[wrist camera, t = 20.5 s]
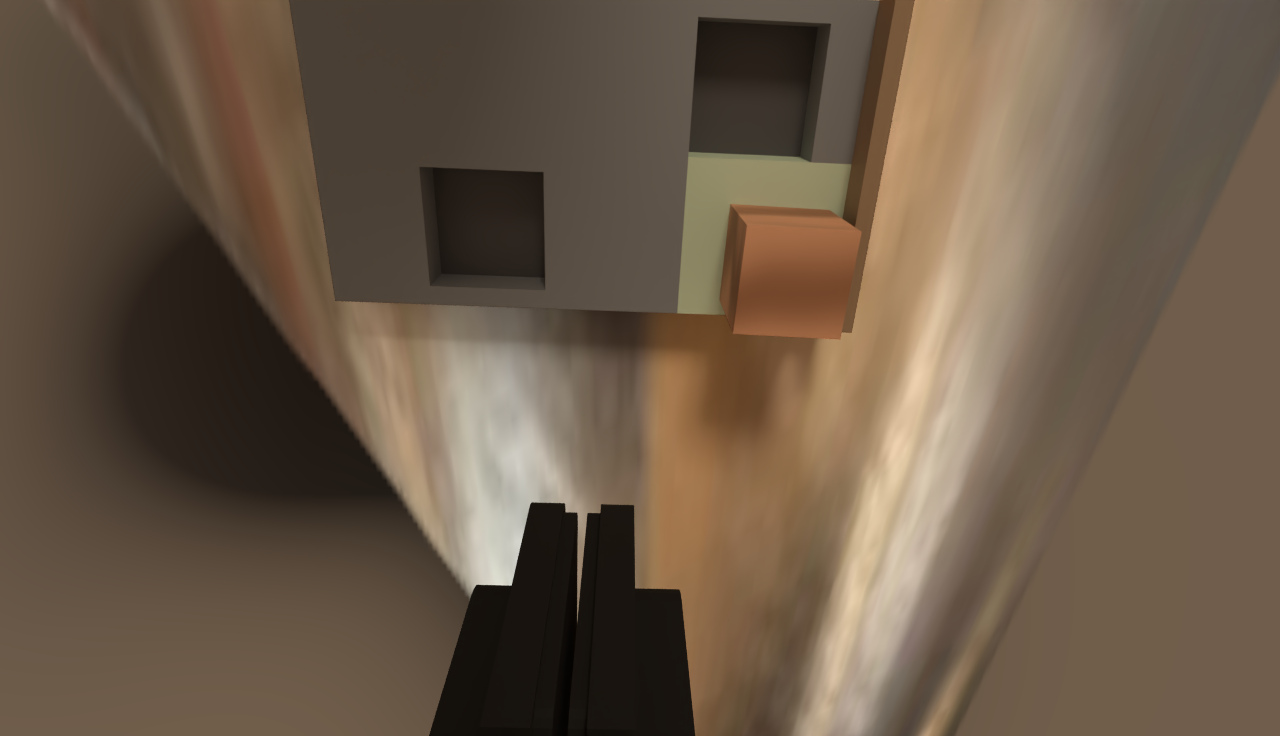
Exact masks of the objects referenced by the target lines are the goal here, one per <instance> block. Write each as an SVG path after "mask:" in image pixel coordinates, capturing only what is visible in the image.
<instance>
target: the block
mask: <svg viewBox="0 0 1280 736" xmlns="http://www.w3.org/2000/svg"><path fill="white" fill-rule="evenodd" d="M861 233H862V232H861V231H860V230H858V229H857V228H855V227H854V226H852V225H851V224H849V223H848V222H846V221H845V220H844V219H842V218H841V217H839V216H838V215H836V214H835V213H833V212H832V211H830V210H823V209H807V208H790V207H773V206H756V205H739V204H730V212H729V221H728V230H727V238H726V247H725V255H724V264H723V273H722V281H721V290H720V298H719V300H720V302H721V305H722V307H723V310H724V312H725V315H726V317H727V320H728V322H729V325H730V327H731V330H732V332H733V334H746V335H765V336H784V337H803V338H823V339H840V338H841V333H842V328H843V323H844V318H845V313H846V308H847V303H848V298H849V293H850V288H851V283H852V278H853V273H854V268H855V263H856V258H857V253H858V248H859V243H860V238H861Z"/></svg>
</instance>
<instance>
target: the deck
mask: <svg viewBox="0 0 1280 736" xmlns="http://www.w3.org/2000/svg"><path fill="white" fill-rule="evenodd" d="M914 1H915V0H880V1H878V0H289V2H290V9H291V15H292V22H293V28H294V35H295V41H296V48H297V54H298V61H299V67H300V74H301V80H302V87H303V93H304V100H305V106H306V113H307V119H308V126H309V132H310V139H311V145H312V152H313V158H314V165H315V171H316V178H317V184H318V191H319V197H320V204H321V210H322V217H323V223H324V230H325V236H326V243H327V249H328V256H329V262H330V269H331V275H332V282H333V288H334V295H335V301H355V302H382V303H409V304H437V305H464V306H491V307H519V308H546V309H573V310H601V311H628V312H655V313H683V314H710V315H725V312H724V310H723V307H722V305H721V302H720V300H719V298H720V290H721V281H722V273H723V264H724V255H725V247H726V238H727V230H728V221H729V212H730V204H739V205H756V206H773V207H790V208H807V209H823V210H830V211H832V212H833V213H835V214H836V215H838V216H839V217H841V218H842V219H844V220H845V221H846V222H848V223H849V224H851V225H852V226H854V227H855V228H857V229H858V230H860V231H861V232H862V233H861V238H860V243H859V248H858V253H857V258H856V263H855V268H854V273H853V278H852V283H851V288H850V293H849V298H848V303H847V308H846V313H845V318H844V323H843V328H842V332H846V333H852V328H853V323H854V318H855V313H856V307H857V302H858V297H859V291H860V286H861V281H862V276H863V270H864V265H865V260H866V254H867V249H868V244H869V239H870V233H871V228H872V223H873V217H874V212H875V207H876V202H877V196H878V191H879V186H880V180H881V175H882V170H883V165H884V159H885V154H886V149H887V144H888V138H889V133H890V128H891V122H892V117H893V112H894V107H895V101H896V96H897V91H898V85H899V80H900V75H901V70H902V64H903V59H904V54H905V48H906V43H907V38H908V33H909V27H910V22H911V17H912V11H913V6H914Z"/></svg>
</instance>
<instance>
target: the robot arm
mask: <svg viewBox="0 0 1280 736" xmlns="http://www.w3.org/2000/svg"><path fill="white" fill-rule="evenodd" d="M577 539H578V515H577V513H567V512H565V503H531V504H530V508H529V512H528V517H527V521H526V525H525V530H524V534H523V539H522V543H521V547H520V552H519V556H518V560H517V565H516V569H515V574H514V578H513V582H512V586H501V585H476V587H475V588H474V590H473V593H472V595H471V598H470V601H469V605H468V608H467V612H466V615H465V618H464V621H463V625H462V628H461V632H460V635H459V638H458V642H457V645H456V648H455V651H454V655H453V658H452V661H451V665H450V668H449V671H448V675H447V678H446V682H445V685H444V688H443V691H442V694H441V698H440V701H439V704H438V708H437V711H436V715H435V718H434V721H433V724H432V728H431V731H430V735H429V736H695V729H694V719H693V710H692V700H691V690H690V680H689V670H688V660H687V650H686V640H685V630H684V620H683V610H682V600H681V593H680V590H677V589H635V547H634V505H604V504H601V513H588V515H587V525H586V536H585V546H584V557H583V568H582V578H581V589H580V600H579V610H578V621H577Z"/></svg>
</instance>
